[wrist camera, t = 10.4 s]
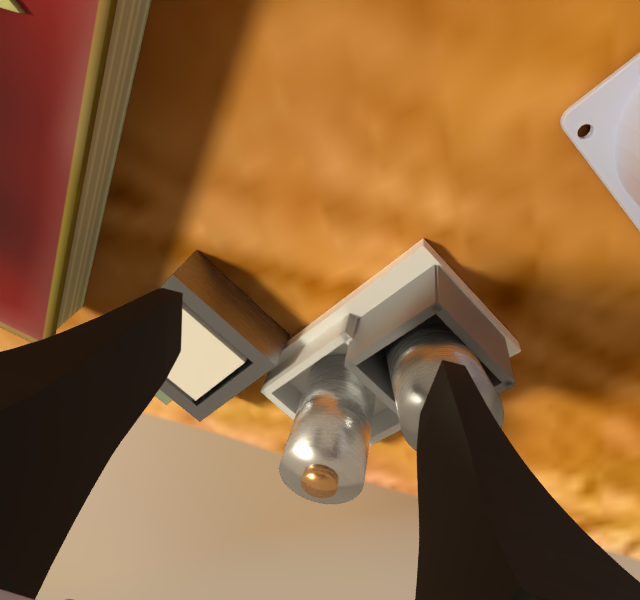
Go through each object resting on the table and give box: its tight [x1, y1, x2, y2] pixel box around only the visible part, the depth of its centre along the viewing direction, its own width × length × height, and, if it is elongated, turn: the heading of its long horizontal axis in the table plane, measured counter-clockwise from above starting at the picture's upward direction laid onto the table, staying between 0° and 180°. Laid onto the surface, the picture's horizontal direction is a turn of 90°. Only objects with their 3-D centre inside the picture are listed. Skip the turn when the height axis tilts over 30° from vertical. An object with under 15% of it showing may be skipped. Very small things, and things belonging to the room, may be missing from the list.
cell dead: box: [384, 314, 504, 451], centre depth 19 cm, size 4×4×6 cm
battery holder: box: [261, 238, 521, 446], centre depth 23 cm, size 7×11×4 cm, turn 135°
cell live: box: [279, 354, 376, 504], centre depth 22 cm, size 4×4×6 cm
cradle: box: [155, 250, 289, 421], centre depth 25 cm, size 6×8×3 cm
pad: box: [167, 301, 247, 401], centre depth 24 cm, size 4×4×1 cm
